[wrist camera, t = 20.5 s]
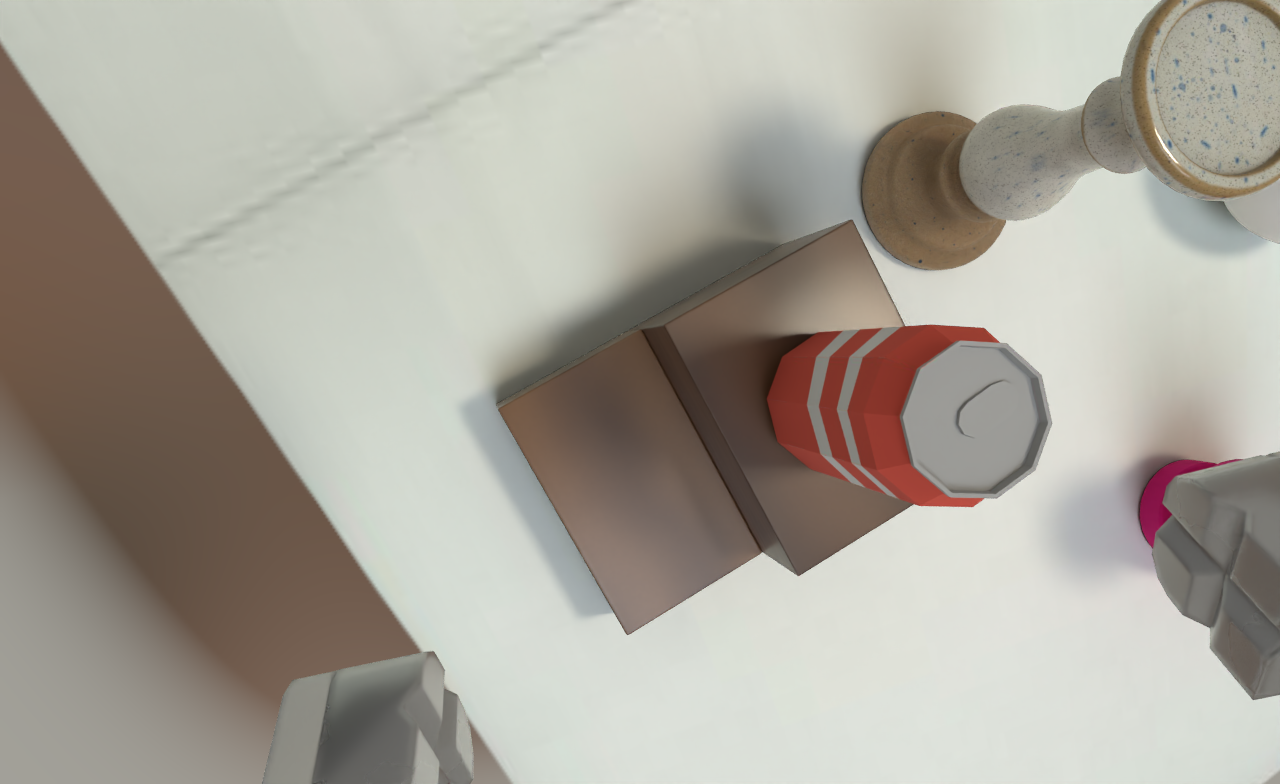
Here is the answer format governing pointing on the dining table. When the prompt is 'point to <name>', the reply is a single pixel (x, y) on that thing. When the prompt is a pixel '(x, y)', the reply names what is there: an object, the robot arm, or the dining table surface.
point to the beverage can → (912, 411)
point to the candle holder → (1091, 136)
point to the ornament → (1259, 212)
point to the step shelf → (702, 432)
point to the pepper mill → (1151, 502)
